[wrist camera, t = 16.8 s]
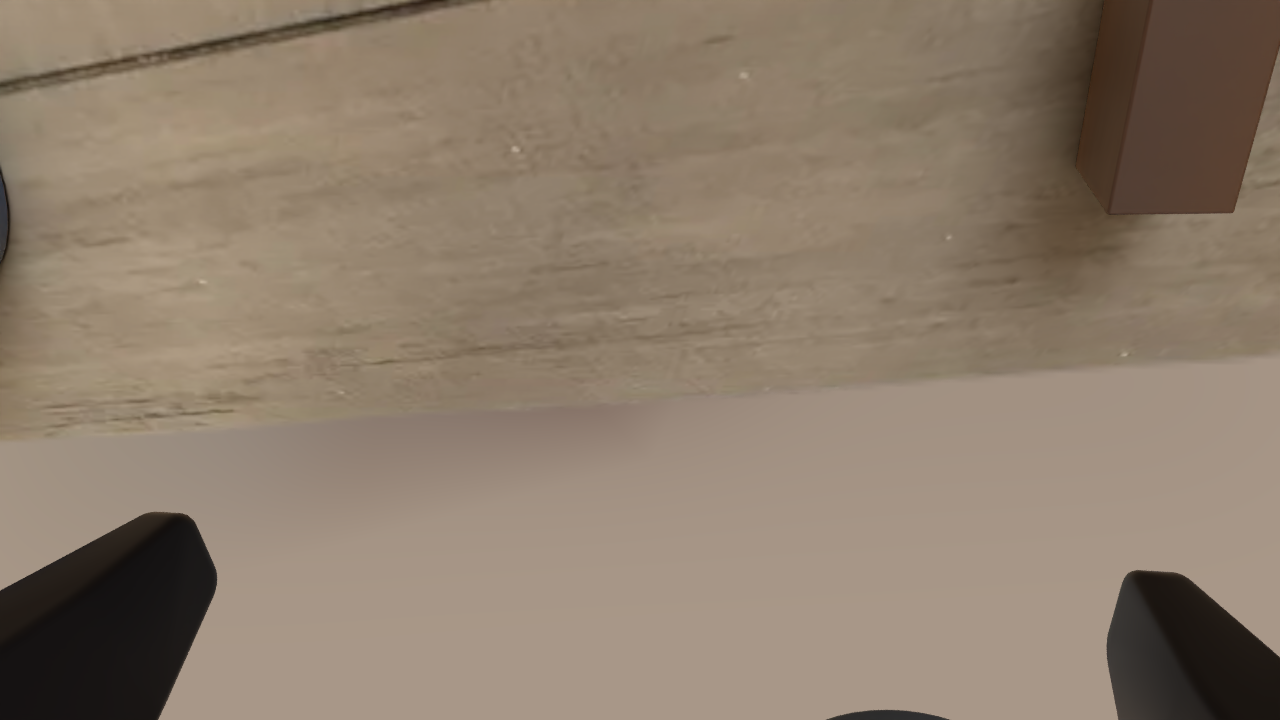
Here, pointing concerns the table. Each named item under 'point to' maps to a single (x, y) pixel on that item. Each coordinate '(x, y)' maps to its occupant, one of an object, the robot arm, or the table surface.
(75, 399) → the table surface
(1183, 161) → the tall brown square pillar
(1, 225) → the bowl
